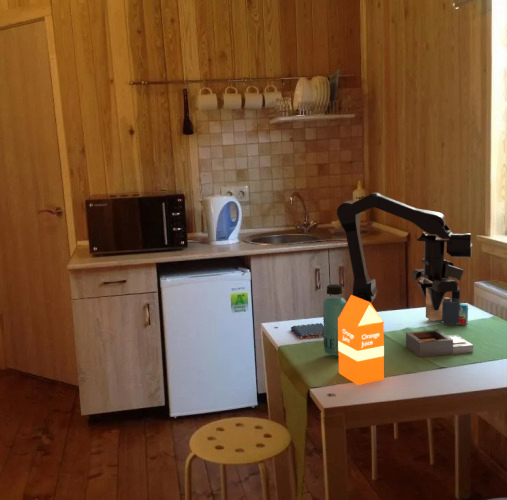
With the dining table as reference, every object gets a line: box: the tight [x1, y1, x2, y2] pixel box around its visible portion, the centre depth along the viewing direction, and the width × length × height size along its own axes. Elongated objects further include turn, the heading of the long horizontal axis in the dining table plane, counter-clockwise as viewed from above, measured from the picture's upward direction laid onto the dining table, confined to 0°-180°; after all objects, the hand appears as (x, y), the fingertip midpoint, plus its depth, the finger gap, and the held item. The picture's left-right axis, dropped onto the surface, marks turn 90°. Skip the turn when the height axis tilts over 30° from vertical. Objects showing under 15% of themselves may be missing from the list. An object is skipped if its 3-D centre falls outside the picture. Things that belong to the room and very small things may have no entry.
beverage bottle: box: [322, 283, 347, 356], centre depth 170 cm, size 6×7×20 cm
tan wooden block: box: [425, 287, 443, 321], centre depth 185 cm, size 4×4×9 cm
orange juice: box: [338, 294, 385, 386], centre depth 155 cm, size 8×9×20 cm
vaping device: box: [442, 287, 461, 325], centre depth 195 cm, size 3×5×12 cm, turn 81°
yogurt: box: [427, 301, 469, 326], centre depth 197 cm, size 12×2×6 cm, turn 56°
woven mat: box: [290, 322, 324, 340], centre depth 193 cm, size 10×11×2 cm
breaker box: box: [405, 329, 474, 358], centre depth 174 cm, size 15×9×4 cm, turn 100°
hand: (433, 308), depth 185 cm, fingers closed on tan wooden block, 3 cm apart
